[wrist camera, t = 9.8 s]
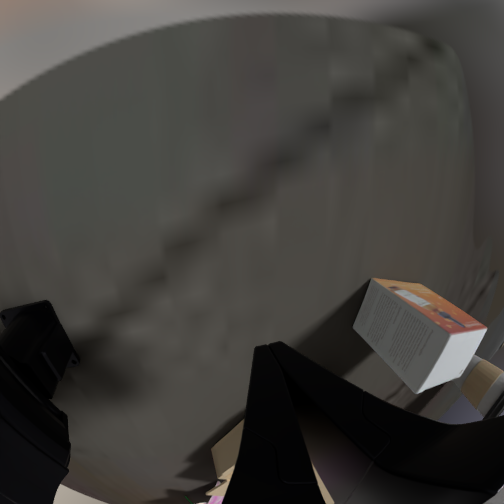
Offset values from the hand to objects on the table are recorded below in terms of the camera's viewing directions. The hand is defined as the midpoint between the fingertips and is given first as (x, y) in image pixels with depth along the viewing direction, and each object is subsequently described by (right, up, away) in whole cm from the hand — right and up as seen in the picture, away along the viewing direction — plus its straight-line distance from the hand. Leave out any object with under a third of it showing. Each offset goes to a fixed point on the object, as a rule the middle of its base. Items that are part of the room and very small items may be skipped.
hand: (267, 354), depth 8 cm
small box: (+13, -2, +18) cm, 23 cm away
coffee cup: (+38, -18, +30) cm, 51 cm away
